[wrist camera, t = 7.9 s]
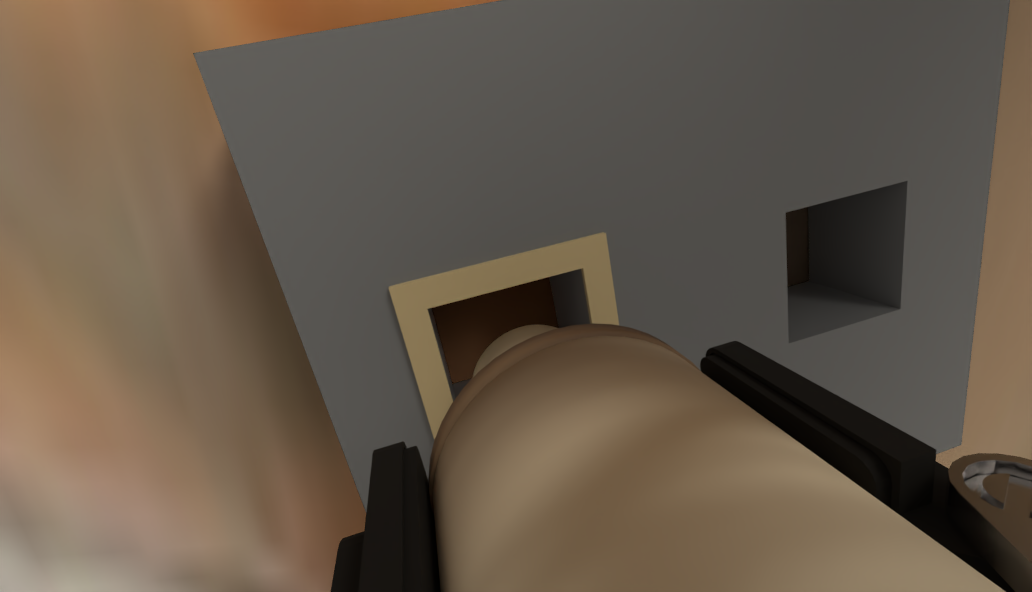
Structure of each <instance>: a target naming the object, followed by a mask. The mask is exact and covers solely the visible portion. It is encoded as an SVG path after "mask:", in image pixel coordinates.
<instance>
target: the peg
mask: <svg viewBox="0 0 1032 592" xmlns="http://www.w3.org/2000/svg"><path fill="white" fill-rule="evenodd" d="M428 479H429V493H430V504H431V508H432V511H433V514H434V520H435V532H436V543H437V555H438V567H439V579H440V591H441V592H1006V591H1004V590H1003V589H1001V588H1000V587H999V586H997V585H996V584H994V583H993V582H992V581H990V580H989V579H988V578H986V577H985V576H983V575H982V574H981V573H979V572H978V571H976V570H975V569H974V568H972V567H971V566H970V565H968V564H967V563H965V562H964V561H963V560H961V559H960V558H958V557H957V556H956V555H954V554H953V553H951V552H950V551H949V550H947V549H946V548H945V547H943V546H942V545H940V544H939V543H938V542H936V541H935V540H933V539H932V538H931V537H929V536H928V535H927V534H925V533H924V532H922V531H921V530H920V529H918V528H917V527H915V526H914V525H913V524H911V523H910V522H909V521H907V520H906V519H904V518H903V517H902V516H900V515H899V514H897V513H896V512H895V511H893V510H892V509H890V508H889V507H888V506H886V505H885V504H884V503H882V502H881V501H879V500H878V499H877V498H875V497H874V496H872V495H871V494H870V493H868V492H867V491H866V490H864V489H863V488H861V487H860V486H859V485H857V484H856V483H854V482H853V481H852V480H850V479H849V478H848V477H846V476H845V475H843V474H842V473H841V472H839V471H838V470H836V469H835V468H834V467H832V466H831V465H829V464H828V463H827V462H825V461H824V460H823V459H821V458H820V457H818V456H817V455H816V454H814V453H813V452H811V451H810V450H809V449H807V448H806V447H805V446H803V445H802V444H800V443H799V442H798V441H796V440H795V439H793V438H792V437H791V436H789V435H788V434H787V433H785V432H784V431H782V430H781V429H780V428H778V427H777V426H775V425H774V424H773V423H771V422H770V421H768V420H767V419H766V418H764V417H763V416H762V415H760V414H759V413H757V412H756V411H755V410H753V409H752V408H750V407H749V406H748V405H746V404H745V403H744V402H742V401H741V400H739V399H738V398H737V397H735V396H734V395H732V394H731V393H730V392H728V391H727V390H726V389H724V388H723V387H721V386H720V385H719V384H717V383H716V382H714V381H713V380H712V379H710V378H709V377H708V376H706V375H705V374H703V373H702V372H701V371H700V370H699V369H698V368H697V367H696V366H695V365H694V364H693V362H691V361H690V360H689V359H687V358H686V357H685V356H683V355H682V354H680V353H679V352H678V351H676V350H675V349H673V348H672V347H671V346H669V345H668V344H666V343H665V342H664V341H662V340H660V339H658V338H656V337H654V336H652V335H650V334H648V333H645V332H642V331H639V330H636V329H633V328H630V327H624V326H619V325H614V324H595V323H593V324H581V325H572V326H567V327H562V328H556V327H553V326H548V325H537V324H536V325H527V326H522V327H518V328H516V329H513V330H511V331H508V332H506V333H505V334H503V335H501V336H500V337H498V338H497V339H496V340H495V341H493V342H492V343H491V344H490V345H489V346H488V347H487V348H486V350H485V351H484V352H483V354H482V355H481V357H480V359H479V360H478V362H477V364H476V367H475V369H474V373H473V377H472V379H471V380H470V381H469V382H468V383H467V385H466V386H465V387H464V388H463V389H462V391H461V392H460V393H459V395H458V396H457V397H456V399H455V400H454V401H453V403H452V404H451V406H450V408H449V410H448V411H447V413H446V415H445V417H444V419H443V420H442V422H441V425H440V427H439V430H438V432H437V435H436V438H435V440H434V444H433V448H432V453H431V457H430V465H429V476H428Z"/></svg>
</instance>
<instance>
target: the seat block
mask: <svg viewBox="0 0 1032 592" xmlns="http://www.w3.org/2000/svg"><path fill="white" fill-rule="evenodd" d="M1009 3H1010V0H501V1H496V2H490V3H484V4H478V5H472V6H466V7H460V8H455V9H449V10H443V11H437V12H431V13H425V14H420V15H414V16H408V17H402V18H396V19H390V20H385V21H379V22H373V23H367V24H361V25H355V26H350V27H344V28H338V29H332V30H326V31H320V32H314V33H309V34H303V35H297V36H291V37H285V38H279V39H274V40H268V41H262V42H256V43H250V44H244V45H239V46H233V47H227V48H221V49H215V50H209V51H203V52H198V53H193V54H194V57H195V59H196V62H197V65H198V67H199V70H200V72H201V75H202V78H203V80H204V83H205V86H206V88H207V91H208V94H209V96H210V99H211V102H212V104H213V107H214V110H215V112H216V115H217V118H218V120H219V123H220V126H221V128H222V131H223V134H224V136H225V139H226V142H227V144H228V147H229V150H230V152H231V155H232V158H233V160H234V163H235V165H236V168H237V171H238V173H239V176H240V179H241V181H242V184H243V187H244V189H245V192H246V195H247V197H248V200H249V203H250V205H251V208H252V211H253V213H254V216H255V219H256V221H257V224H258V227H259V229H260V232H261V235H262V237H263V240H264V243H265V245H266V248H267V251H268V253H269V256H270V258H271V261H272V264H273V266H274V269H275V272H276V274H277V277H278V280H279V282H280V285H281V288H282V290H283V293H284V296H285V298H286V301H287V304H288V306H289V309H290V312H291V314H292V317H293V320H294V322H295V325H296V328H297V330H298V333H299V336H300V338H301V341H302V343H303V346H304V349H305V351H306V354H307V357H308V359H309V362H310V365H311V367H312V370H313V373H314V375H315V378H316V381H317V383H318V386H319V389H320V391H321V394H322V397H323V399H324V402H325V405H326V407H327V410H328V413H329V415H330V418H331V421H332V423H333V426H334V429H335V431H336V434H337V436H338V439H339V442H340V444H341V447H342V450H343V452H344V455H345V458H346V460H347V463H348V466H349V468H350V471H351V474H352V476H353V479H354V482H355V484H356V487H357V490H358V492H359V495H360V498H361V500H362V503H363V506H364V508H365V511H366V512H367V503H368V493H369V483H370V474H371V464H372V454H373V451H374V450H376V449H379V448H383V447H386V446H389V445H392V444H396V443H399V442H402V441H403V442H404V443H405V445H406V447H407V448H410V447H413V446H417V447H418V450H419V452H420V456H421V459H422V462H423V465H424V468H425V471H426V475H427V478H428V476H429V465H430V457H431V453H432V448H433V444H434V440H435V438H436V435H437V432H438V430H439V427H440V425H441V422H442V420H443V419H444V417H445V415H446V413H447V411H448V410H449V408H450V406H451V404H452V403H453V401H454V400H455V399H456V397H457V396H458V395H459V393H460V392H461V391H462V389H463V388H464V387H465V386H466V385H467V383H468V382H469V381H470V380H471V379H472V378H471V379H468V380H464V381H461V382H457V383H454V384H452V381H451V377H450V373H449V370H448V366H447V362H446V359H445V355H444V352H443V348H442V344H441V341H440V337H439V333H438V330H437V326H436V323H435V319H434V315H433V312H432V308H433V307H437V306H441V305H444V304H448V303H452V302H456V301H460V300H463V299H467V298H471V297H475V296H479V295H482V294H486V293H490V292H494V291H498V290H501V289H505V288H509V287H513V286H517V285H520V284H524V283H528V282H532V281H536V280H539V279H543V278H547V277H549V280H550V285H551V290H552V296H553V301H554V306H555V311H556V317H557V322H558V327H559V328H562V327H567V326H572V325H581V324H593V323H595V324H614V325H619V326H624V327H630V328H633V329H636V330H639V331H642V332H645V333H648V334H650V335H652V336H654V337H656V338H658V339H660V340H662V341H664V342H665V343H666V344H668V345H669V346H671V347H672V348H673V349H675V350H676V351H678V352H679V353H680V354H682V355H683V356H685V357H686V358H687V359H689V360H690V361H691V362H693V364H694V365H695V366H696V367H697V368H698V369H699V370H700V371H701V369H700V362H701V359H702V358H704V357H706V352H707V350H708V349H709V348H712V347H715V346H718V345H722V344H725V343H728V342H732V341H738V342H741V343H742V344H744V345H746V346H748V347H750V348H752V349H753V350H755V351H757V352H759V353H761V354H763V355H764V356H766V357H768V358H770V359H772V360H774V361H775V362H777V363H779V364H781V365H783V366H785V367H786V368H788V369H790V370H792V371H794V372H796V373H797V374H799V375H801V376H803V377H805V378H806V379H808V380H810V381H812V382H814V383H816V384H817V385H819V386H821V387H823V388H825V389H827V390H828V391H830V392H832V393H834V394H836V395H838V396H839V397H841V398H843V399H845V400H847V401H849V402H850V403H852V404H854V405H856V406H858V407H860V408H861V409H863V410H865V411H867V412H869V413H870V414H872V415H874V416H876V417H878V418H880V419H881V420H883V421H885V422H887V423H889V424H891V425H892V426H894V427H896V428H898V429H900V430H902V431H903V432H905V433H907V434H909V435H911V436H913V437H914V438H916V439H918V440H920V441H922V442H924V443H925V444H927V445H929V446H931V447H933V448H934V449H936V454H938V453H940V452H943V451H946V450H949V449H951V448H954V447H957V446H959V445H961V442H962V433H963V424H964V415H965V405H966V396H967V387H968V378H969V369H970V360H971V351H972V342H973V332H974V323H975V314H976V305H977V296H978V287H979V278H980V268H981V259H982V250H983V241H984V232H985V223H986V214H987V204H988V195H989V186H990V177H991V168H992V159H993V150H994V140H995V131H996V122H997V113H998V104H999V95H1000V86H1001V77H1002V67H1003V58H1004V49H1005V40H1006V31H1007V22H1008V13H1009ZM805 207H808V227H809V281H807V282H804V283H800V284H797V285H793V286H790V287H787V249H786V212H790V211H794V210H798V209H801V208H805ZM428 481H429V479H428Z"/></svg>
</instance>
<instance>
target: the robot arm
mask: <svg viewBox="0 0 1032 592" xmlns="http://www.w3.org/2000/svg"><path fill="white" fill-rule="evenodd" d="M700 369H701V372H702V373H703V374H705V375H706V376H708V377H709V378H710V379H712V380H713V381H714V382H716V383H717V384H719V385H720V386H721V387H723V388H724V389H726V390H727V391H728V392H730V393H731V394H732V395H734V396H735V397H737V398H738V399H739V400H741V401H742V402H744V403H745V404H746V405H748V406H749V407H750V408H752V409H753V410H755V411H756V412H757V413H759V414H760V415H762V416H763V417H764V418H766V419H767V420H768V421H770V422H771V423H773V424H774V425H775V426H777V427H778V428H780V429H781V430H782V431H784V432H785V433H787V434H788V435H789V436H791V437H792V438H793V439H795V440H796V441H798V442H799V443H800V444H802V445H803V446H805V447H806V448H807V449H809V450H810V451H811V452H813V453H814V454H816V455H817V456H818V457H820V458H821V459H823V460H824V461H825V462H827V463H828V464H829V465H831V466H832V467H834V468H835V469H836V470H838V471H839V472H841V473H842V474H843V475H845V476H846V477H848V478H849V479H850V480H852V481H853V482H854V483H856V484H857V485H859V486H860V487H861V488H863V489H864V490H866V491H867V492H868V493H870V494H871V495H872V496H874V497H875V498H877V499H878V500H879V501H881V502H882V503H884V504H885V505H886V506H888V507H889V508H890V509H892V510H893V511H895V512H896V513H897V514H899V515H900V516H902V517H903V518H904V519H906V520H907V521H909V522H910V523H911V524H913V525H914V526H915V527H917V528H918V529H920V530H921V531H922V532H924V533H925V534H927V535H928V536H929V537H931V538H932V539H933V540H935V541H936V542H938V543H939V544H940V545H942V546H943V547H945V548H946V549H947V550H949V551H950V552H951V553H953V554H954V555H956V556H957V557H958V558H960V559H961V560H963V561H964V562H965V563H967V564H968V565H970V566H971V567H972V568H974V569H975V570H976V571H978V572H979V573H981V574H982V575H983V576H985V577H986V578H988V579H989V580H990V581H992V582H993V583H994V584H996V585H997V586H999V587H1000V588H1001V589H1003V590H1004V591H1006V592H1032V460H1029V459H1026V458H1022V457H1017V456H1011V455H1004V454H989V453H978V454H973V455H967V456H963V457H961V458H959V459H957V460H955V461H954V462H952V464H951V466H950V468H949V469H948V468H946V467H945V466H943V465H941V464H939V463H938V462H936V461H935V460H936V449H934V448H933V447H931V446H929V445H927V444H925V443H924V442H922V441H920V440H918V439H916V438H914V437H913V436H911V435H909V434H907V433H905V432H903V431H902V430H900V429H898V428H896V427H894V426H892V425H891V424H889V423H887V422H885V421H883V420H881V419H880V418H878V417H876V416H874V415H872V414H870V413H869V412H867V411H865V410H863V409H861V408H860V407H858V406H856V405H854V404H852V403H850V402H849V401H847V400H845V399H843V398H841V397H839V396H838V395H836V394H834V393H832V392H830V391H828V390H827V389H825V388H823V387H821V386H819V385H817V384H816V383H814V382H812V381H810V380H808V379H806V378H805V377H803V376H801V375H799V374H797V373H796V372H794V371H792V370H790V369H788V368H786V367H785V366H783V365H781V364H779V363H777V362H775V361H774V360H772V359H770V358H768V357H766V356H764V355H763V354H761V353H759V352H757V351H755V350H753V349H752V348H750V347H748V346H746V345H744V344H742V343H741V342H738V341H732V342H728V343H725V344H722V345H718V346H715V347H712V348H709V349H708V350H707V352H706V357H704V358H702V359H701V362H700ZM331 592H441V591H440V579H439V567H438V555H437V543H436V532H435V520H434V514H433V511H432V508H431V504H430V493H429V481H428V478H427V475H426V471H425V468H424V465H423V462H422V459H421V456H420V452H419V450H418V447H417V446H413V447H410V448H407V447H406V445H405V443H404V442H403V441H402V442H399V443H396V444H392V445H389V446H386V447H383V448H379V449H376V450H374V451H373V454H372V464H371V474H370V483H369V493H368V503H367V512H366V522H365V531H364V532H361V533H358V534H355V535H352V536H349V537H346V538H343V539H342V540H341V541H340V544H339V547H338V552H337V558H336V564H335V570H334V576H333V582H332V588H331Z"/></svg>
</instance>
